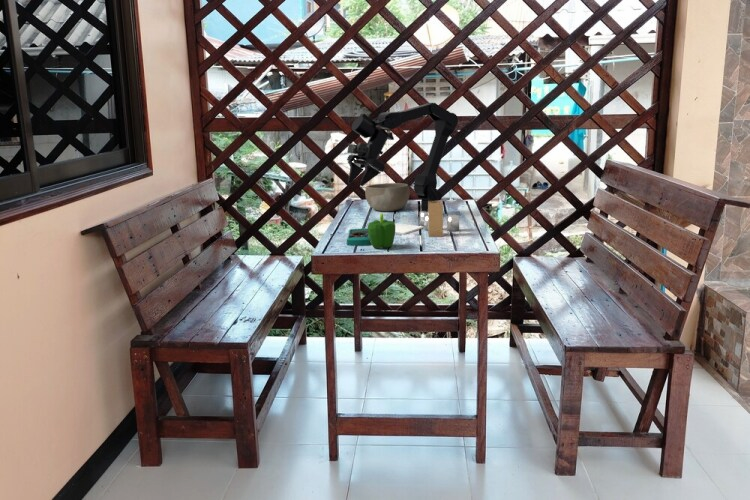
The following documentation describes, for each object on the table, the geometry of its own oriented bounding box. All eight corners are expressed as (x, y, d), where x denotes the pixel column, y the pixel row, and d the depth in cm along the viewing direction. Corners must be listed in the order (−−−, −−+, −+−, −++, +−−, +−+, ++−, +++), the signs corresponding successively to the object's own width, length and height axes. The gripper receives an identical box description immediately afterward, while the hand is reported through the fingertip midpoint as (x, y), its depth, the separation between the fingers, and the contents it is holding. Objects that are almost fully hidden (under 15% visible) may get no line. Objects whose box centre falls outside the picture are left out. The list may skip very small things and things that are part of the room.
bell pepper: (390, 251, 192) (389, 217, 190) (364, 249, 196) (363, 216, 193) (400, 244, 200) (399, 212, 198) (375, 243, 203) (374, 211, 201)
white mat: (390, 224, 232) (390, 222, 232) (423, 227, 224) (423, 226, 223) (370, 230, 222) (370, 228, 222) (404, 234, 214) (404, 232, 214)
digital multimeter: (346, 247, 201) (346, 238, 200) (349, 236, 215) (348, 228, 214) (370, 246, 201) (370, 237, 200) (371, 236, 215) (371, 227, 214)
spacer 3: (451, 228, 221) (451, 214, 219) (461, 230, 218) (461, 215, 217) (445, 231, 218) (445, 216, 216) (455, 232, 215) (455, 217, 214)
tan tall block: (428, 233, 214) (428, 200, 211) (441, 233, 214) (441, 200, 211) (429, 236, 210) (428, 203, 207) (442, 236, 210) (442, 202, 207)
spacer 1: (423, 224, 230) (423, 210, 229) (433, 225, 228) (433, 211, 226) (417, 226, 227) (417, 212, 226) (427, 227, 224) (427, 213, 223)
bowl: (372, 205, 271) (371, 181, 269) (414, 206, 266) (413, 182, 264) (360, 213, 255) (359, 187, 253) (404, 214, 250) (404, 188, 248)
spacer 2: (428, 228, 223) (428, 213, 222) (438, 229, 221) (438, 214, 220) (422, 230, 220) (421, 215, 219) (432, 231, 218) (432, 216, 216)
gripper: (345, 132, 232) (325, 170, 231) (370, 134, 216) (348, 175, 215) (369, 147, 238) (349, 185, 237) (395, 151, 222) (374, 191, 221)
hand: (354, 184), depth 227 cm, fingers open, 9 cm apart
